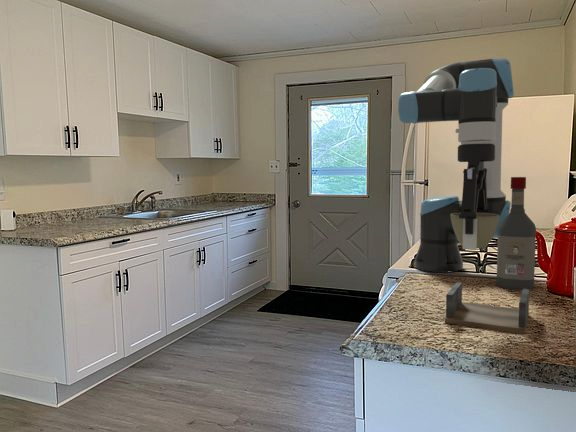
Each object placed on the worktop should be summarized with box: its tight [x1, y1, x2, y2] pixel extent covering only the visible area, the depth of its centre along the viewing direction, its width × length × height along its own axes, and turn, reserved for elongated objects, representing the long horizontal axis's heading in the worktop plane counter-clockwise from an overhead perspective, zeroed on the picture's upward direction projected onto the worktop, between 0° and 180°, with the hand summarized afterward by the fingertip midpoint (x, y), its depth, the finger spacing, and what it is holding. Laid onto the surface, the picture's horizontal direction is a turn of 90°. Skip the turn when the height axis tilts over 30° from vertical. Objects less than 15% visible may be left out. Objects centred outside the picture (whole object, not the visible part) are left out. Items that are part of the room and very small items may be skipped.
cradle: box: [444, 282, 530, 335], centre depth 105 cm, size 14×15×6 cm
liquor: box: [496, 176, 537, 291], centre depth 130 cm, size 9×9×30 cm
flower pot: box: [451, 213, 500, 249], centre depth 105 cm, size 10×10×7 cm
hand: (474, 245), depth 105 cm, fingers closed on flower pot, 10 cm apart
